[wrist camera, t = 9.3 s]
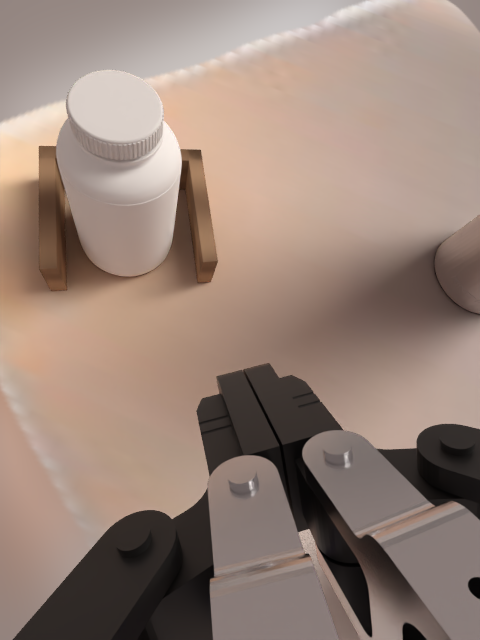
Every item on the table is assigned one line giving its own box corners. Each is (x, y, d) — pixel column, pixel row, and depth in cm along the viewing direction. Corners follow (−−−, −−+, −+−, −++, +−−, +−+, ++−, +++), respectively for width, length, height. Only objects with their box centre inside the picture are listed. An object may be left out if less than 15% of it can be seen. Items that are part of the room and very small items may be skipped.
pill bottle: (129, 297, 35) (116, 186, 21) (60, 238, 35) (3, 91, 21) (190, 240, 38) (214, 110, 24) (126, 186, 38) (114, 29, 25)
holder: (210, 281, 37) (217, 261, 33) (51, 290, 34) (39, 269, 30) (196, 178, 40) (200, 149, 37) (49, 177, 37) (38, 145, 33)
